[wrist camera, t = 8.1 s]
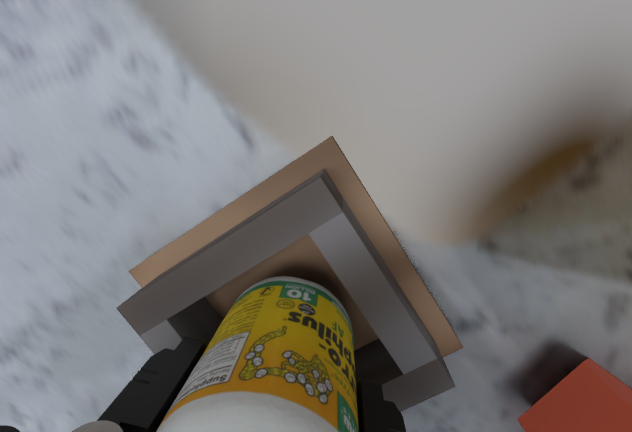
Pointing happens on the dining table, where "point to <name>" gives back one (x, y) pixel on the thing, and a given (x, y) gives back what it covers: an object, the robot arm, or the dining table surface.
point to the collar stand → (303, 274)
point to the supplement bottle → (274, 366)
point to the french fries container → (582, 404)
